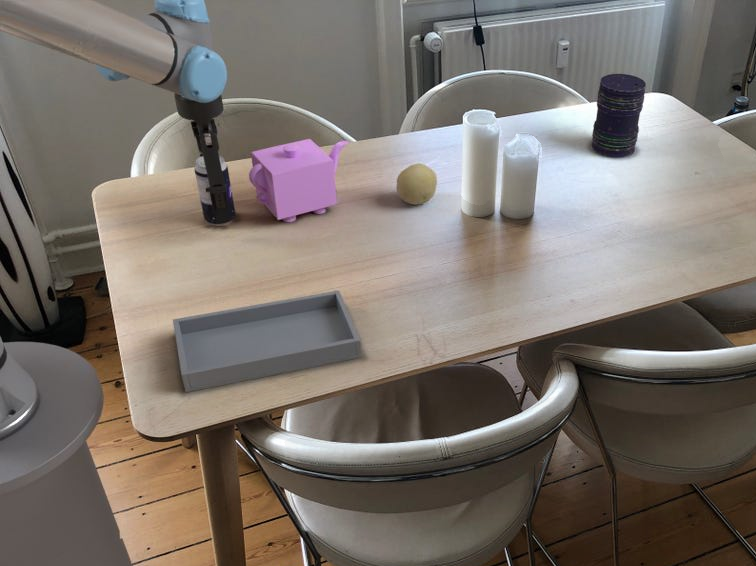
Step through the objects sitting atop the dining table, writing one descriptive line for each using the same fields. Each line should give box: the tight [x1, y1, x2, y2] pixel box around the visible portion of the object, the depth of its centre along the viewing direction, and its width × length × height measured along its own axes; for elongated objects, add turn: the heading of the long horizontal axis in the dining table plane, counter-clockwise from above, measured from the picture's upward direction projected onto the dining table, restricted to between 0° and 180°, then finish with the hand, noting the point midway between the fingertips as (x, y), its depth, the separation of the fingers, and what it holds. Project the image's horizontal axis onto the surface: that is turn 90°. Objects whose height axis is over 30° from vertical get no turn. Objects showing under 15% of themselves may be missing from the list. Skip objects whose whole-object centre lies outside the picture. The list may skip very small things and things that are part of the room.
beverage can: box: [194, 155, 237, 227], centre depth 151 cm, size 6×6×12 cm
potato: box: [395, 163, 438, 205], centre depth 160 cm, size 8×8×8 cm
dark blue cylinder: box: [590, 73, 647, 159], centre depth 180 cm, size 10×10×15 cm
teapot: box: [248, 138, 350, 223], centre depth 156 cm, size 20×10×12 cm, turn 123°
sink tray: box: [172, 290, 362, 393], centre depth 126 cm, size 26×14×3 cm, turn 111°
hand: (218, 203), depth 152 cm, fingers open, 13 cm apart
